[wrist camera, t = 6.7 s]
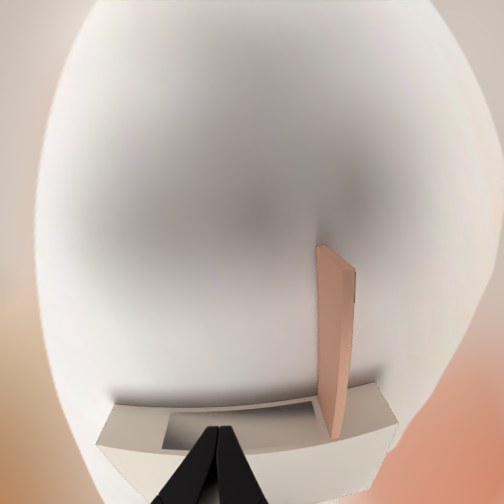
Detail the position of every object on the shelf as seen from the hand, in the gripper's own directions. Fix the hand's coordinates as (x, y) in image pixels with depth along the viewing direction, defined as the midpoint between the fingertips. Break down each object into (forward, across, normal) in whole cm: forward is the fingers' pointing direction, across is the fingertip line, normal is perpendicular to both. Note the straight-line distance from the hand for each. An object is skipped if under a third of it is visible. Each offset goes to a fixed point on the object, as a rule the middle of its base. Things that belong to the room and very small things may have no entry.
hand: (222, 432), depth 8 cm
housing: (+9, 0, +14) cm, 17 cm away
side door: (+9, -6, +2) cm, 11 cm away
